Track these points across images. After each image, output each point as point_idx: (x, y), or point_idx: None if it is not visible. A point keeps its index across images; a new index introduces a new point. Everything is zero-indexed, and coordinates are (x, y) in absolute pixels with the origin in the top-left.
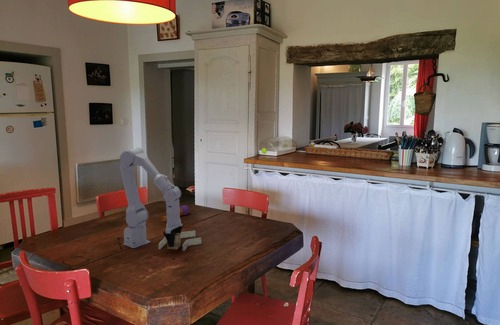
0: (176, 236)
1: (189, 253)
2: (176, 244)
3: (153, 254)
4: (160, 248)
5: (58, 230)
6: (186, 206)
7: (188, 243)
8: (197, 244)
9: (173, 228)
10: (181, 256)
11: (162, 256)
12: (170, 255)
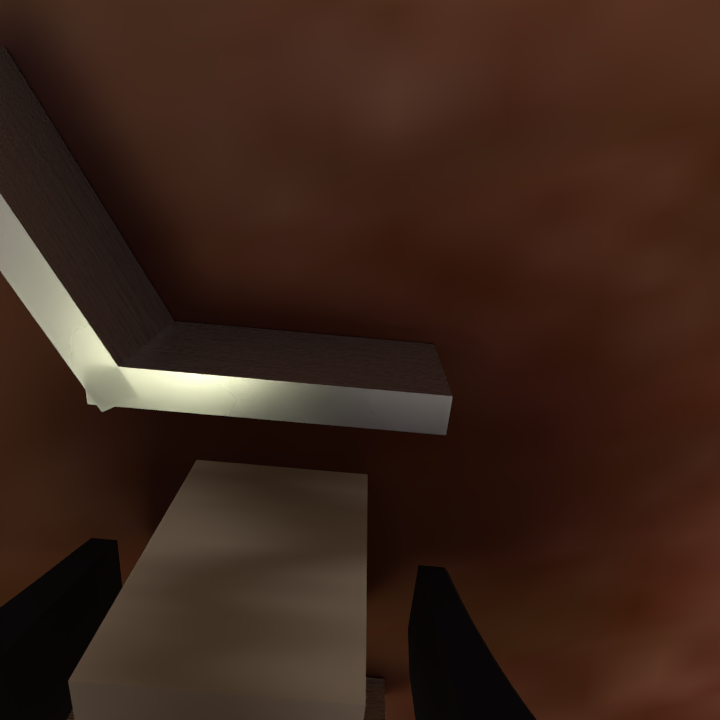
0: (362, 713)
1: (571, 217)
2: (366, 545)
3: (557, 711)
4: (381, 692)
5: None
6: None
7: (153, 335)
8: (61, 140)
9: None
10: (702, 339)
11: (647, 605)
12: (624, 516)
